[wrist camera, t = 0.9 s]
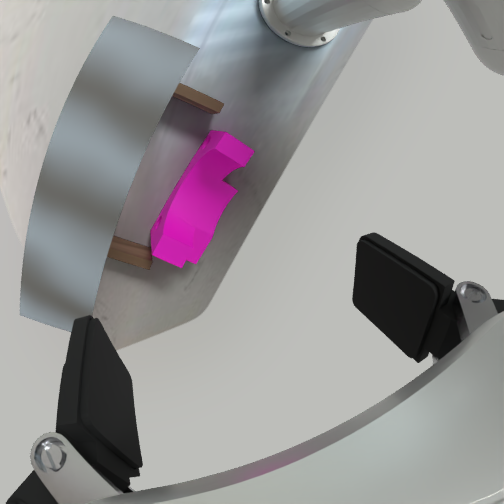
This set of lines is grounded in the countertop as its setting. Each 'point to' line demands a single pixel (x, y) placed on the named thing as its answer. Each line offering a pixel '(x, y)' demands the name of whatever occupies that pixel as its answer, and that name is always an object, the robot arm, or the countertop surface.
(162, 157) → the countertop surface
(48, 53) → the countertop surface
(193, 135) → the countertop surface
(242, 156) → the toy block
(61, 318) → the tunnel
